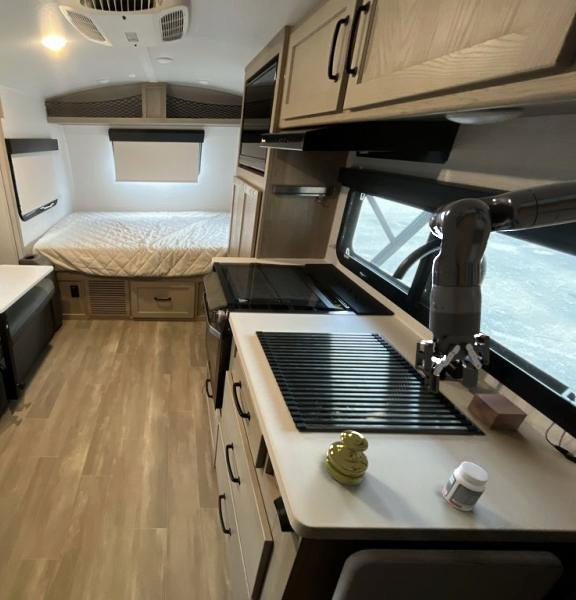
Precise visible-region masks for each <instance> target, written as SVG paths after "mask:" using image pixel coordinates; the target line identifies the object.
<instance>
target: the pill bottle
mask: <svg viewBox="0 0 576 600" xmlns="http://www.w3.org/2000/svg"><path fill="white" fill-rule="evenodd" d="M488 480H489V474H488V473H487V471H485V470H484V468H482V467H481V466H479V465H478V464H476V463H473V462H470V461H462V462H461V463H460V465H459V466H458V467H457V468H455V469H454V471H453V472H452V474H451V476H450V477H449V479H448V480H447V482H446V484H445V486H444V487H443V489H442V495H443V497H444V499H445V500H446V501H447V502H448V503H449V504H450V505H451V506H452V507H454V508H455V509H457V510H459V511H464V512H469V511H472V509H474V507H475V506H476V504H477V502H478V501H479V500H480V498H481V496H482V495H483V494H484V492H485V491H486V487H487V485H486V484H487V482H488Z"/></svg>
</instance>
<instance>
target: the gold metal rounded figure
mask: <svg viewBox="0 0 576 600" xmlns="http://www.w3.org/2000/svg"><path fill="white" fill-rule="evenodd" d="M368 449H369V441H368V440H367V438H366V437H365V436H364V435H362V434H361V433H360V432H358V431H355V430H350V429H346V430H343V431H342V432H341V434H340V440H339V441H334V442H333V443H331V444H330V445H329V447H328V451H327V453H326V457H325V459H324V466H325V469H326V471H327V472H328V474H329V475H330V476H331V478H332V479H334V480H335V481H337V482H339V483H341V484H344V485H346V486H356V485H359V484H361V482H362V481H363V478H364V477H365V475H366V471H367V470H368V468H369V460H368V457H367V455H366V454H365V453H364V452H366V451H367V450H368Z"/></svg>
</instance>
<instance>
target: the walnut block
mask: <svg viewBox="0 0 576 600" xmlns="http://www.w3.org/2000/svg"><path fill="white" fill-rule="evenodd" d="M467 409H468V410H469V411H470V412H471V413H472V414H473V415H474V416H475V417H476V418H477V419H479V421H481V423H482V424H483V425H484V426H486V427H487V428H488V429H489V430H516V431H517V430H518V429H519V428H520V426H522V423H523V422H524V421H525V420H526V418H527V417H528V413H526V412H525V411H524V410H522V409H521V408H520V407H519V406H518V405H517V404H515V403H514V402H513V401H512V400H511V399H509V398H508V397H506V396H505V395H504V394H502V393H475V394H474V395H473V396H472V399H471V400H470V402H469V404H468V405H467Z"/></svg>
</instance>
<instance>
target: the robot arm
mask: <svg viewBox="0 0 576 600" xmlns="http://www.w3.org/2000/svg"><path fill="white" fill-rule="evenodd" d="M429 217H430V218H429V220H428V227H429V230H430V231H431V232H432V234H433V235H434V236H436V237H438V238H439V239H441V243H440V249H439V250H440V251H439V254H438V255H437V256H435V258H434V259H433V264H432V277H431V278H432V280H431V281H432V283H431V289H430V296H429V318H428V319H429V320H428V322H429V323H428V329H429V330H430V332H431V333H432V338H431V340H427V341H426V340H423V339H418V340H417V341H416V350H415V360H414V361H415V362H414V369H415V370H417V371H420V372H423V373H424V388H425V389H426V391H428V392H430V393H432V394H438V393H440V381H441V380H440V379H441V377H440V376H441V375H440V373H441V372H442V370H443V369H444V368H446V367H447V366H449V364H450V363H451V362H455V361H461V362H462V364H463V365H464V366H463V367H462V384H463V385H464V386H466V387H468V388H473V389H474V388H477V386H478V383H479V370H481V368H482V366H484V365H485V366H488V365H489V364H490V358H491V357H490V356H491V355H490V352H491V351H490V349H491V348H490V346H491V345H490V343H491V341H490V339H491V337H490V336H489V335H487V334H483V333H481V319H482V302H483V296H482V295H483V294H482V287H481V286H482V285H481V284H482V261H483V259H484V255H485V253H486V249H487V245H488V242H489V239H490V236H491V233H496V232H507V231H509V232H511V231H512V232H513V231H522V230H529V229H536V228H543V227H549V226H557V225H562V224H563V225H564V224H569V223H576V179H574V180H564V181H558V182H552V183H545V184H540V185H535V186H529V187H524V188H520V189H515V190H511V191H508V192H504V193H501V194H497V195H491V196H485V197H478V198H462V199H459V200H454V201H451V202H448V203H445V204H442V205H441V206H439V207H438V208H437V209H435V210H434V211H433V212H432V213H431V215H430V216H429ZM480 353H481V356H480ZM423 363H424V364H423ZM434 365H435V366H434ZM433 366H434V367H433Z"/></svg>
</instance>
